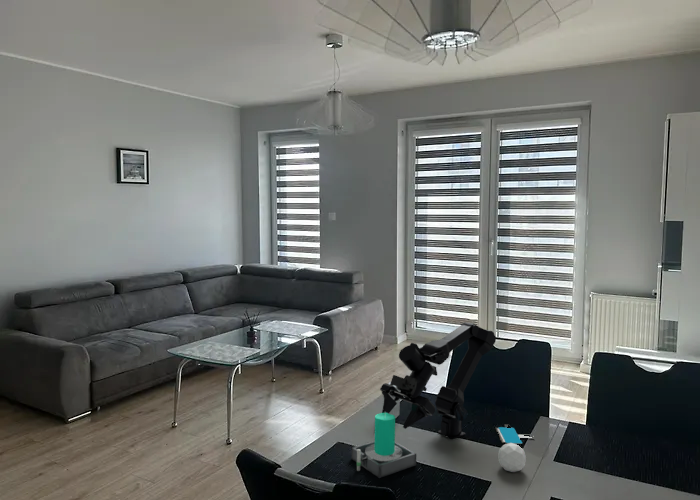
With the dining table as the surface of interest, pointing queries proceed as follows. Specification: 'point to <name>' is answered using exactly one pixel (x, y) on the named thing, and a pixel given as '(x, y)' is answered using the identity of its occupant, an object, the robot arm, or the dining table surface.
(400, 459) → the scale housing
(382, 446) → the candle
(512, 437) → the phone stand
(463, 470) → the dining table surface
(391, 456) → the scale pan
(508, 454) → the geometric ball
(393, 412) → the skincare box
